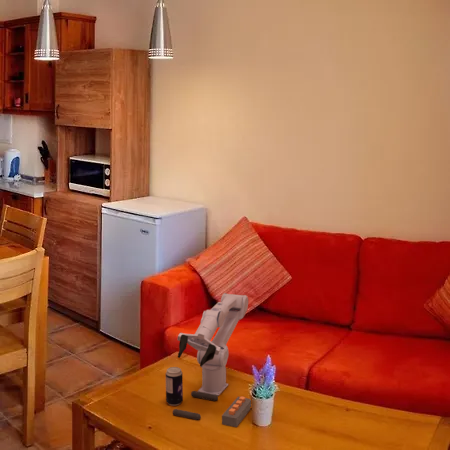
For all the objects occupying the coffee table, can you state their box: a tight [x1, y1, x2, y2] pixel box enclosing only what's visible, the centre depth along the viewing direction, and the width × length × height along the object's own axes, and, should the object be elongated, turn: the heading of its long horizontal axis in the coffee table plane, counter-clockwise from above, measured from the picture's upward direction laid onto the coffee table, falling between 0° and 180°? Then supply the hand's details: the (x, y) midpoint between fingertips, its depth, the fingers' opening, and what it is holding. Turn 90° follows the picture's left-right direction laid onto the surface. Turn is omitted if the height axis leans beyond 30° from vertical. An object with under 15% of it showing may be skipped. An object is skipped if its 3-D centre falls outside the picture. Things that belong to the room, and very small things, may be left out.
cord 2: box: [190, 390, 219, 402], centre depth 213 cm, size 2×10×2 cm, turn 67°
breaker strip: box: [221, 396, 251, 428], centre depth 201 cm, size 14×5×4 cm, turn 157°
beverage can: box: [165, 366, 184, 407], centre depth 209 cm, size 6×6×12 cm
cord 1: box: [172, 408, 202, 421], centre depth 200 cm, size 2×10×2 cm, turn 68°
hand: (190, 359), depth 196 cm, fingers open, 7 cm apart
